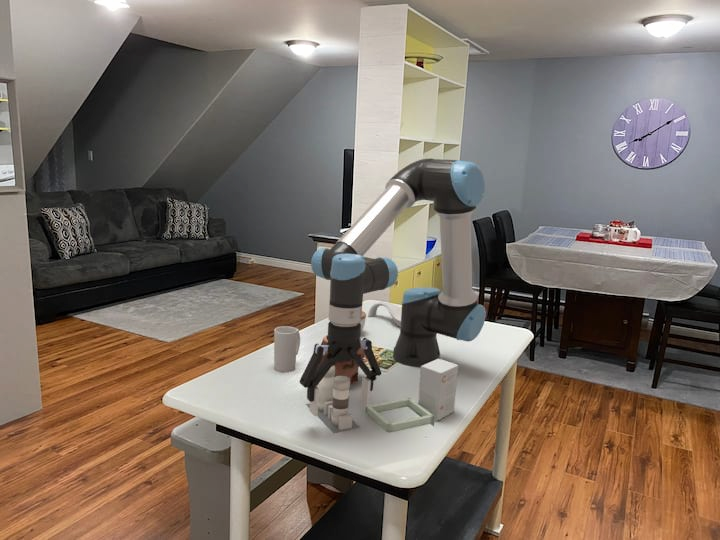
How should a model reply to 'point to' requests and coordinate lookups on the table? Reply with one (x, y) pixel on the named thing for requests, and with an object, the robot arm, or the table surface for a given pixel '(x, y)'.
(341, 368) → the decorative planter
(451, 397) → the small box
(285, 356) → the mug
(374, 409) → the parts tray
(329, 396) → the holder
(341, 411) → the light bulb
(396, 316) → the grey curved piece
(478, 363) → the table surface
